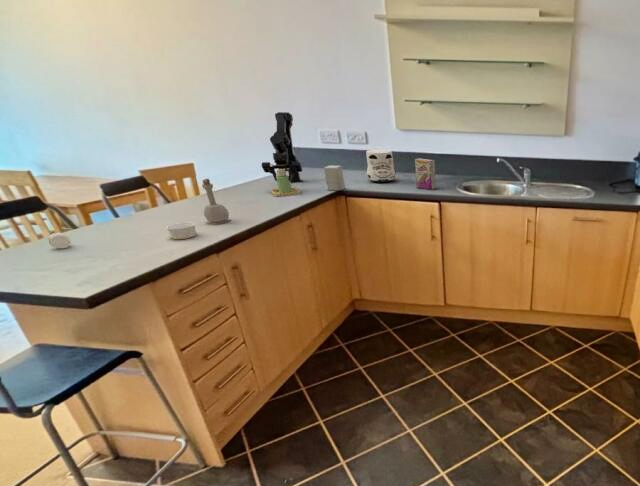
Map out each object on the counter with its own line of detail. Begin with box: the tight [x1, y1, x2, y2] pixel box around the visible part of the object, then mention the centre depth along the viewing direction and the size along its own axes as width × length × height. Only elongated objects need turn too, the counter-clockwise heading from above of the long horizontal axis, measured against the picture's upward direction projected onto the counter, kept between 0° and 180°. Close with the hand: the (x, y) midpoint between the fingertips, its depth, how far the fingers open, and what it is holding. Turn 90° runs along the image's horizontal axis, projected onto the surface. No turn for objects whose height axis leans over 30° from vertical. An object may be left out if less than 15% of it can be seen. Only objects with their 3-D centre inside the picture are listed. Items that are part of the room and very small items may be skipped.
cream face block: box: [365, 149, 397, 183], centre depth 258 cm, size 17×17×18 cm
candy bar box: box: [414, 157, 437, 191], centre depth 244 cm, size 11×5×16 cm, turn 65°
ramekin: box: [166, 222, 197, 240], centre depth 160 cm, size 9×9×4 cm
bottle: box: [276, 174, 293, 193], centre depth 225 cm, size 6×6×12 cm
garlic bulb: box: [47, 232, 72, 249], centre depth 147 cm, size 6×6×5 cm
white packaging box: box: [323, 165, 346, 191], centre depth 236 cm, size 7×7×13 cm
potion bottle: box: [201, 178, 230, 225], centre depth 175 cm, size 9×9×18 cm
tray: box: [270, 186, 302, 198], centre depth 227 cm, size 12×12×1 cm
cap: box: [276, 169, 287, 176], centre depth 222 cm, size 4×4×3 cm
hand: (282, 180), depth 223 cm, fingers closed on bottle, 6 cm apart
